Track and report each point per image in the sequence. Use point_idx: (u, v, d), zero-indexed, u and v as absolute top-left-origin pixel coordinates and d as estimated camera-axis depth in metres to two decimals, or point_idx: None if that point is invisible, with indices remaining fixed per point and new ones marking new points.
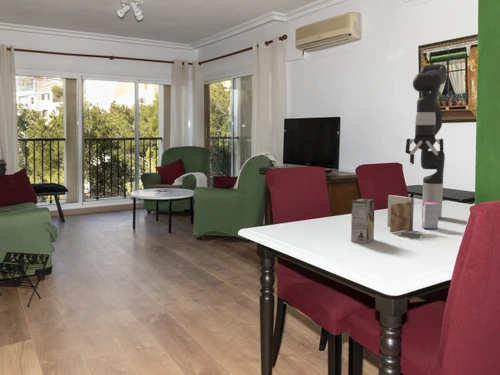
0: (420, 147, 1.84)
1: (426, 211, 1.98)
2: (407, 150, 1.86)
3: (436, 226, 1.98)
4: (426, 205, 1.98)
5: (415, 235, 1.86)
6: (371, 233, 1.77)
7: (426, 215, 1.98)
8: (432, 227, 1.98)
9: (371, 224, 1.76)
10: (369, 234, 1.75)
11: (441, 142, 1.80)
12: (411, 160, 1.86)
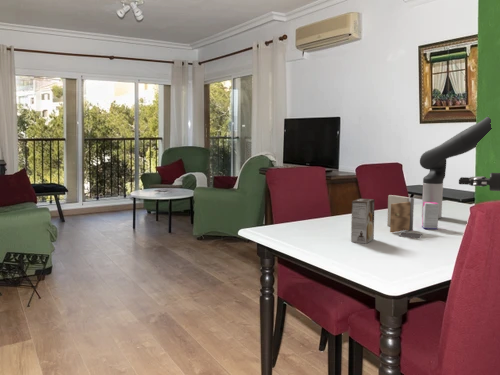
0: None
1: (426, 211, 1.98)
2: (473, 185, 1.86)
3: (436, 226, 1.98)
4: (426, 205, 1.98)
5: (415, 235, 1.86)
6: (371, 233, 1.77)
7: (426, 215, 1.98)
8: (432, 227, 1.98)
9: (371, 224, 1.76)
10: (369, 234, 1.75)
11: None
12: (462, 183, 1.89)
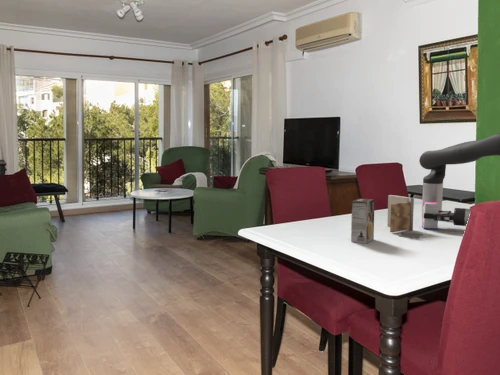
0: None
1: (426, 211, 1.98)
2: None
3: (436, 226, 1.98)
4: (426, 205, 1.98)
5: (415, 235, 1.86)
6: (371, 233, 1.77)
7: None
8: (432, 227, 1.98)
9: (371, 224, 1.76)
10: (369, 234, 1.75)
11: None
12: (427, 217, 1.97)
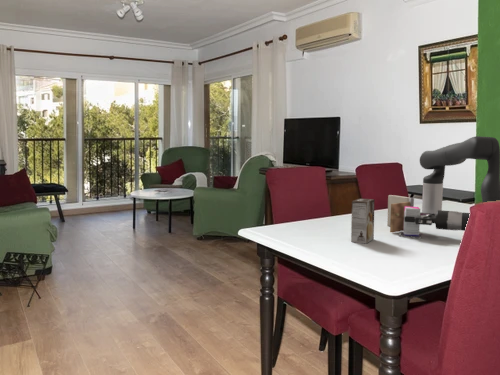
0: None
1: None
2: None
3: (417, 232, 1.84)
4: (406, 210, 1.84)
5: None
6: (371, 233, 1.77)
7: None
8: (413, 234, 1.84)
9: (371, 224, 1.76)
10: (369, 234, 1.75)
11: None
12: (408, 221, 1.82)
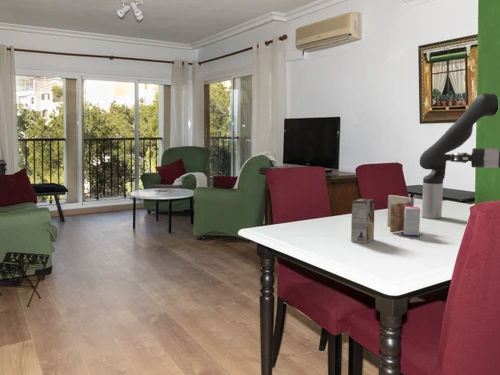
0: None
1: (407, 216, 1.84)
2: (454, 161, 1.76)
3: (417, 232, 1.84)
4: (407, 210, 1.84)
5: None
6: (371, 233, 1.77)
7: (407, 221, 1.84)
8: (413, 234, 1.84)
9: (371, 224, 1.76)
10: (369, 234, 1.75)
11: None
12: (443, 159, 1.80)
